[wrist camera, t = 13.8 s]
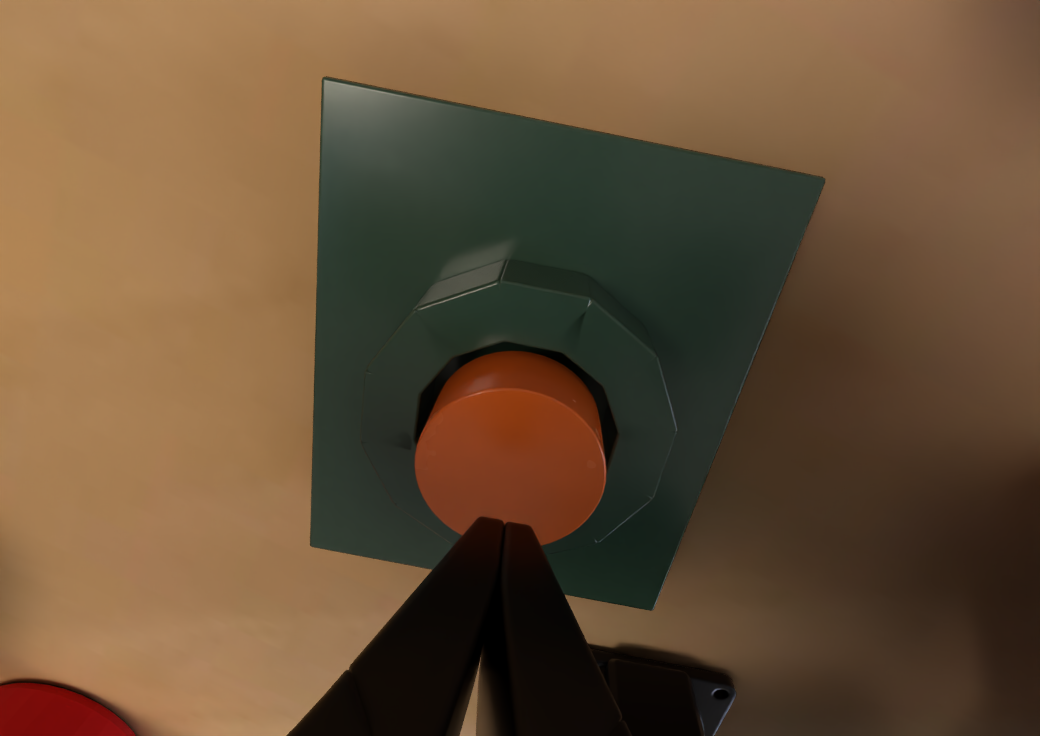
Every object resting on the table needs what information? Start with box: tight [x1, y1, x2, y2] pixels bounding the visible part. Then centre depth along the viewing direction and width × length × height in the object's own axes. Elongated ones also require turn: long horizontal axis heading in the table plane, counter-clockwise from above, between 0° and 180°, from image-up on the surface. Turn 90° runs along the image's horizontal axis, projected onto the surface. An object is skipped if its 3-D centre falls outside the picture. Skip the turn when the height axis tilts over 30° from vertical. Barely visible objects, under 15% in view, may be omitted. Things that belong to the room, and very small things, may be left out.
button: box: [414, 351, 607, 546], centre depth 11 cm, size 4×4×2 cm
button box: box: [310, 76, 825, 611], centre depth 13 cm, size 12×10×4 cm
